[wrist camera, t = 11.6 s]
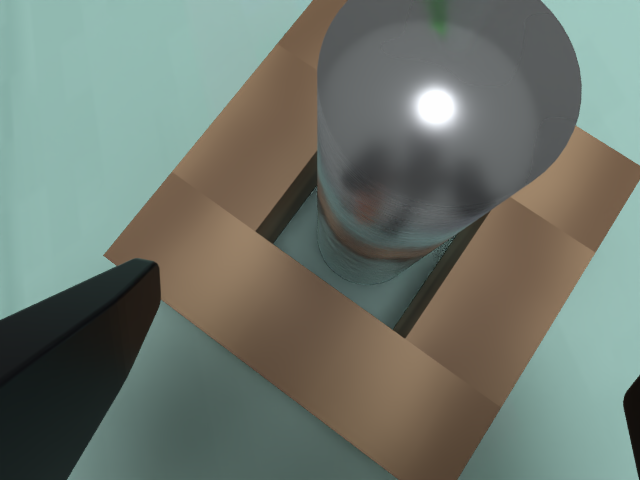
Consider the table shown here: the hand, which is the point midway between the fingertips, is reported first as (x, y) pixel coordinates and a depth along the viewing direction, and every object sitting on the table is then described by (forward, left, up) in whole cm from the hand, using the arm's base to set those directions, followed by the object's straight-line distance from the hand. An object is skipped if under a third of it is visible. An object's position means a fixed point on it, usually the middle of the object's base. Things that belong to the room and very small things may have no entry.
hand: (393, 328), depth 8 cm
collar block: (+2, -4, -11) cm, 12 cm away
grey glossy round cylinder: (+2, -4, -11) cm, 12 cm away
